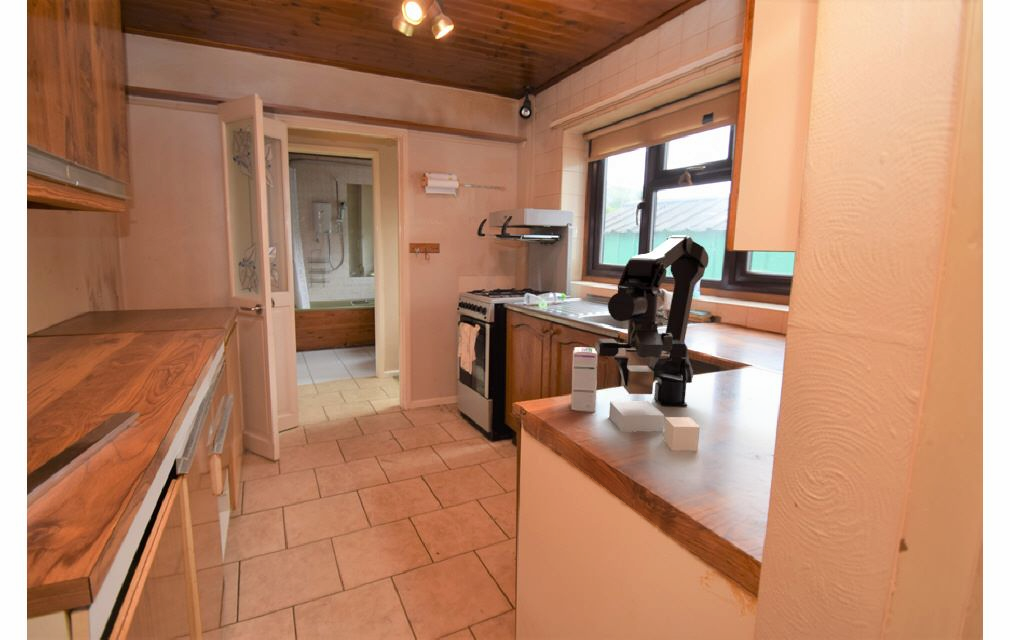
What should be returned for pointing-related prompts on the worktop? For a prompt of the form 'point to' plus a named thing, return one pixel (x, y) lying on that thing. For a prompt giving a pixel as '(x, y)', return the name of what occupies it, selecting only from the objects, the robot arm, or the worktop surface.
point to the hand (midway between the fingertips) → (637, 385)
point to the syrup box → (584, 379)
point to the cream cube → (681, 433)
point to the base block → (636, 416)
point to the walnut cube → (639, 380)
